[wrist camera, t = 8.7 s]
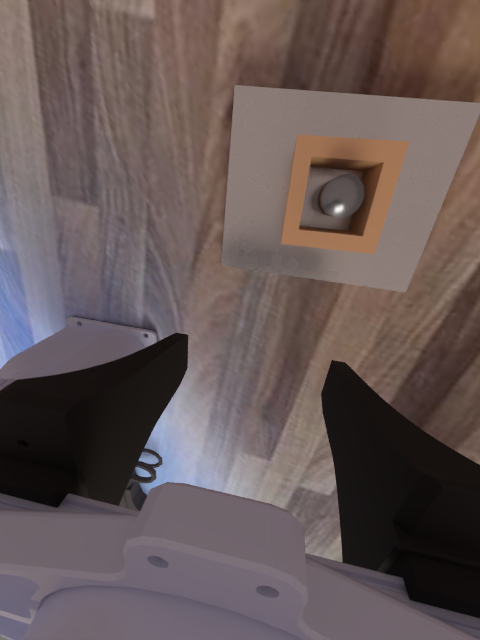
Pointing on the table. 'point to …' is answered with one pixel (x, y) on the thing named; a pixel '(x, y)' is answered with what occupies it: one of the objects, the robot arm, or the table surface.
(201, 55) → the table surface
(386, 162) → the ring
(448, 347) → the table surface
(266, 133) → the plate
